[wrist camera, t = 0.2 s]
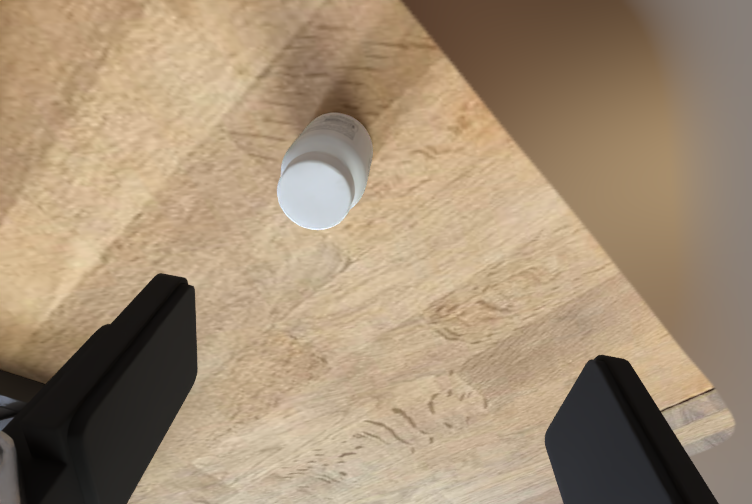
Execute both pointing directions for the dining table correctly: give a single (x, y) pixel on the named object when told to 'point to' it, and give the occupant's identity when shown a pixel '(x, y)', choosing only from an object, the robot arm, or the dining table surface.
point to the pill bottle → (325, 171)
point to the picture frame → (15, 395)
